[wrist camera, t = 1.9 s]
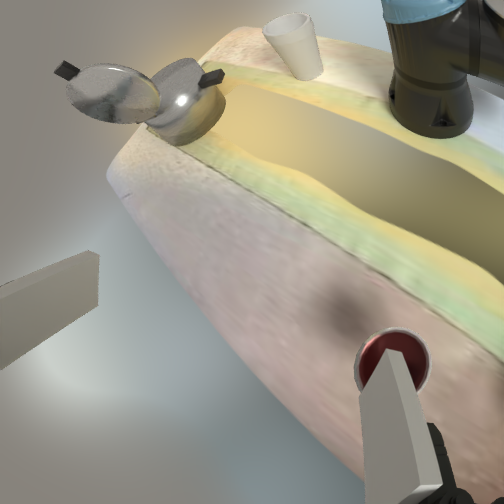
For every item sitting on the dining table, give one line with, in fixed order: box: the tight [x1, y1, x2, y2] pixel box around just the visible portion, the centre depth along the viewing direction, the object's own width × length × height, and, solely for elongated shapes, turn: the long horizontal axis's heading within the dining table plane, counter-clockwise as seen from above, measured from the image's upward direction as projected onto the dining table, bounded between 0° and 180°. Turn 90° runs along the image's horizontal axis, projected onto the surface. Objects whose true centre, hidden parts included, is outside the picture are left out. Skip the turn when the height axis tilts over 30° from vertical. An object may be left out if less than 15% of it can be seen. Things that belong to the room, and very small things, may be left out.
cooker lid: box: [54, 61, 161, 124], centre depth 41 cm, size 22×18×1 cm
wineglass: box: [354, 327, 432, 395], centre depth 25 cm, size 7×7×12 cm
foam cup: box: [262, 13, 323, 81], centre depth 47 cm, size 10×9×13 cm
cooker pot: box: [145, 58, 226, 146], centre depth 58 cm, size 17×26×12 cm, turn 79°
